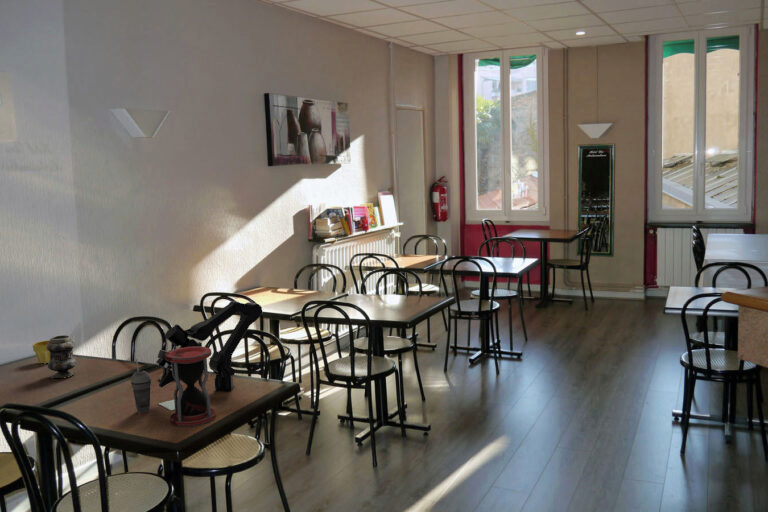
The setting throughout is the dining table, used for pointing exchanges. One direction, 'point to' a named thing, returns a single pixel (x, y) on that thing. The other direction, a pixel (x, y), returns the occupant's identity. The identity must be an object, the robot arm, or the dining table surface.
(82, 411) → the dining table surface
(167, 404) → the mat
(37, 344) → the plant pot
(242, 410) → the dining table surface
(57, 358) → the apothecary jar
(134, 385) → the beverage cup
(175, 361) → the hourglass
